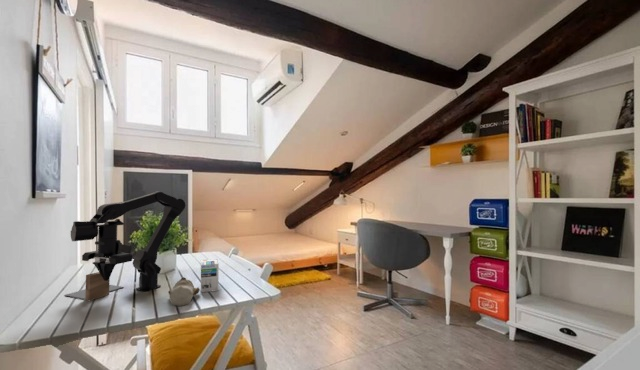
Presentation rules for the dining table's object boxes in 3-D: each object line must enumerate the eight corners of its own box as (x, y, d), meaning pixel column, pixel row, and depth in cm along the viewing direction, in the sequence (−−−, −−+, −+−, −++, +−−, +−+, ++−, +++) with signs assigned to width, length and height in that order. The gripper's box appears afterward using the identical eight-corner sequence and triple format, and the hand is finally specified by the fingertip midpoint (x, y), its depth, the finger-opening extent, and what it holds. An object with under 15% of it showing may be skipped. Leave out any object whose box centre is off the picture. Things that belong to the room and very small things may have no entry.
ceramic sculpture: (163, 283, 96) (170, 274, 110) (162, 310, 95) (169, 297, 109) (197, 280, 100) (200, 272, 114) (197, 306, 99) (200, 295, 113)
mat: (123, 287, 119) (123, 286, 119) (84, 299, 105) (84, 298, 105) (104, 284, 123) (104, 283, 123) (64, 296, 109) (64, 294, 109)
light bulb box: (218, 290, 115) (218, 263, 116) (200, 293, 113) (200, 265, 113) (217, 283, 125) (217, 258, 125) (200, 285, 123) (201, 259, 123)
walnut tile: (109, 294, 111) (109, 270, 111) (89, 300, 104) (89, 275, 105) (105, 293, 112) (105, 270, 112) (85, 299, 105) (85, 274, 106)
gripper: (145, 236, 112) (145, 277, 111) (112, 234, 118) (110, 272, 117) (117, 240, 101) (116, 285, 101) (81, 238, 108) (80, 280, 107)
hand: (106, 280), depth 107 cm, fingers closed
